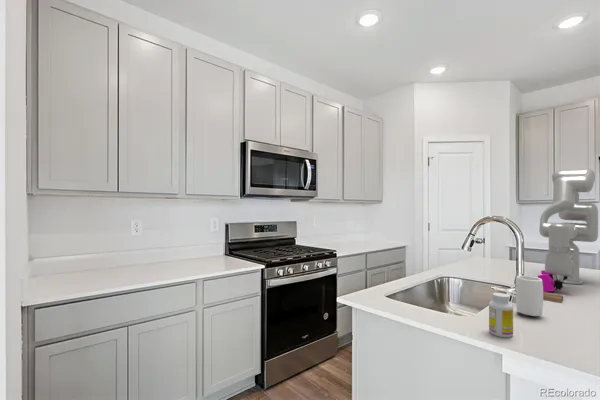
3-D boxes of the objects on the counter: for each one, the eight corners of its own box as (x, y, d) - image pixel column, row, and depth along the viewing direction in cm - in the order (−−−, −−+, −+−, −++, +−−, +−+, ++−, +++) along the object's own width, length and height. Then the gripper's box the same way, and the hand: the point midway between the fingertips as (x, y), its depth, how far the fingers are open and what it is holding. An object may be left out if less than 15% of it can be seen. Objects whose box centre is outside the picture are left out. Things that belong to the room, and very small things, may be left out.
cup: (547, 320, 115) (547, 281, 115) (520, 318, 117) (520, 279, 117) (537, 312, 123) (537, 276, 123) (512, 310, 126) (512, 274, 126)
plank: (514, 290, 153) (515, 286, 153) (563, 299, 140) (563, 295, 140) (511, 293, 148) (511, 289, 148) (561, 302, 135) (561, 298, 135)
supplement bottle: (515, 334, 103) (515, 294, 103) (510, 340, 99) (510, 299, 99) (492, 328, 108) (492, 290, 108) (486, 333, 104) (486, 294, 104)
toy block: (541, 286, 161) (535, 271, 162) (556, 284, 157) (550, 269, 158) (537, 292, 150) (531, 276, 151) (553, 290, 146) (546, 274, 147)
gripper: (580, 251, 147) (580, 291, 147) (540, 247, 157) (539, 284, 157) (579, 252, 142) (578, 294, 141) (537, 249, 152) (537, 287, 152)
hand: (558, 289), depth 149 cm, fingers closed
